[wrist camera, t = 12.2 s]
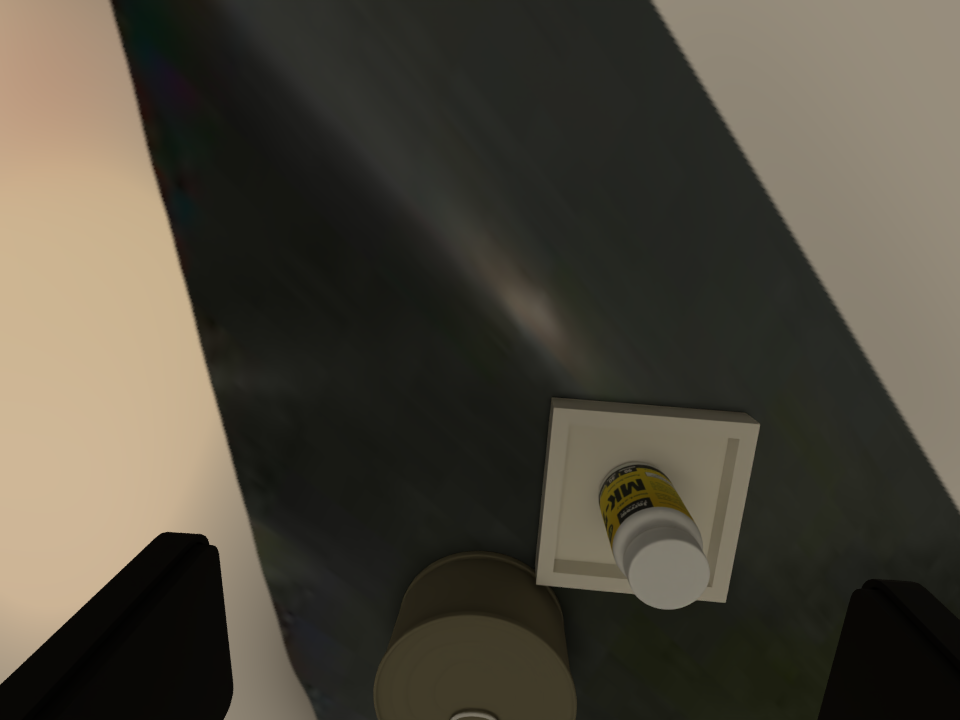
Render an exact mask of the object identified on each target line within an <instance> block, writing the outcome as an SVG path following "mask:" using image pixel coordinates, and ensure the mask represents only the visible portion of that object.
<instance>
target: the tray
mask: <svg viewBox="0 0 960 720" xmlns="http://www.w3.org/2000/svg"><path fill="white" fill-rule="evenodd" d="M759 428H760V424H759V423H758V422H757V421H755V420H754V419H753V418H752V417H750V416H749V415H748V414H747V413H744V412H731V411H719V410H706V409H694V408H681V407H668V406H656V405H643V404H631V403H618V402H606V401H593V400H580V399H568V398H555V397H551V408H550V418H549V428H548V438H547V448H546V458H545V468H544V479H543V489H542V499H541V509H540V519H539V529H538V539H537V550H536V560H535V575H536V585H545V586H556V587H566V588H577V589H587V590H598V591H608V592H619V593H629V594H634V592H633V591H632V589H631V587H630V584H629V582H628V579H627V577H626V576H625V575H624V574H623V573H622V572H621V570H620V569H619V567H618V566H617V564H616V562H615V559H614V556H613V553H612V550H611V546H610V542H609V539H608V535H607V532H606V528H605V525H604V521H603V518H602V514H601V510H600V507H599V501H598V496H599V490H600V487H601V484H602V482H603V481H604V479H605V478H606V476H607V475H608V474H609V473H610V472H611V471H612V470H614V469H615V468H617V467H619V466H621V465H624V464H627V463H634V462H639V463H646V464H650V465H652V466H654V467H656V468H658V469H660V470H661V471H662V472H663V473H664V474H665V475H666V476H667V477H668V478H669V480H670V481H671V483H672V485H673V486H674V488H675V490H676V491H677V493H678V495H679V496H680V498H681V500H682V501H683V503H684V505H685V506H686V508H687V510H688V512H689V513H690V515H691V517H692V518H693V520H694V522H695V523H696V525H697V527H698V529H699V531H700V533H701V537H702V541H703V553H704V554H705V556H706V558H707V560H708V563H709V567H710V578H709V582H708V585H707V587H706V589H705V591H704V592H703V594H702V595H701V596H700V597H699V598H698V599H697V600H702V601H713V602H723V603H726V598H727V592H728V587H729V582H730V577H731V572H732V567H733V562H734V556H735V551H736V546H737V541H738V536H739V531H740V526H741V521H742V515H743V510H744V505H745V500H746V495H747V490H748V485H749V479H750V474H751V469H752V464H753V459H754V454H755V449H756V443H757V438H758V433H759Z"/></svg>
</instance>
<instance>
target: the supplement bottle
mask: <svg viewBox="0 0 960 720" xmlns="http://www.w3.org/2000/svg"><path fill="white" fill-rule="evenodd" d="M598 501H599V507H600V510H601V514H602V518H603V521H604V525H605V528H606V532H607V535H608V539H609V542H610V546H611V550H612V553H613V556H614V559H615V562H616V564H617V566H618V567H619V569H620V570H621V572H622V573H623V574H624V575H625V576H626V577H627V579H628V582H629V584H630V587H631V589H632V591H633V592H634V594H635V595H636V596H637V597H638V598H639V599H640V600H641V601H643V602H644V603H646V604H647V605H650V606H652V607H655V608H659V609H677V608H681V607H684V606H687V605H689V604H691V603H692V602H694V601H695V600H697V599H698V598H699V597H700V596H701V595H702V594H703V592H704V591H705V589H706V587H707V585H708V582H709V578H710V567H709V563H708V560H707V558H706V556H705V554H704V553H703V541H702V537H701V533H700V531H699V529H698V527H697V525H696V523H695V522H694V520H693V518H692V517H691V515H690V513H689V512H688V510H687V508H686V506H685V505H684V503H683V501H682V500H681V498H680V496H679V495H678V493H677V491H676V490H675V488H674V486H673V485H672V483H671V481H670V480H669V478H668V477H667V476H666V475H665V474H664V473H663V472H662V471H661V470H660V469H658V468H656V467H654V466H652V465H650V464H646V463H639V462H634V463H627V464H624V465H621V466H619V467H617V468H615V469H614V470H612V471H611V472H610V473H609V474H608V475H607V476H606V478H605V479H604V481H603V482H602V484H601V487H600V490H599V496H598Z"/></svg>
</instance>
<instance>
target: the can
mask: <svg viewBox="0 0 960 720" xmlns="http://www.w3.org/2000/svg"><path fill="white" fill-rule="evenodd" d="M374 706H375V711H376V715H377V718H378V720H575V718H576V711H577V698H576V691H575V685H574V681H573V678H572V675H571V673H570V668H569V661H568V653H567V645H566V638H565V631H564V620H563V614H562V610H561V606H560V603H559V601H558V598H557V596H556V594H555V593H554V591H553V589H552V588H551V586H545V585H536V575H535V570H534V569H533V568H531V567H530V566H528V565H527V564H525V563H523V562H521V561H519V560H517V559H515V558H513V557H510V556H507V555H504V554H500V553H495V552H489V551H467V552H460V553H455V554H452V555H449V556H446V557H444V558H441V559H439V560H437V561H435V562H433V563H432V564H430V565H429V566H427V567H426V568H425V569H424V570H422V571H421V572H420V573H419V574H418V575H417V576H416V577H415V579H414V580H413V581H412V582H411V584H410V586H409V587H408V589H407V591H406V593H405V595H404V598H403V601H402V604H401V608H400V612H399V614H398V617H397V620H396V623H395V627H394V630H393V633H392V636H391V639H390V642H389V645H388V648H387V651H386V653H385V654H384V656H383V658H382V660H381V662H380V665H379V667H378V670H377V673H376V677H375V682H374Z"/></svg>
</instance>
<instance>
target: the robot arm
mask: <svg viewBox="0 0 960 720" xmlns="http://www.w3.org/2000/svg"><path fill="white" fill-rule="evenodd" d="M232 696H233V678H232V669H231V660H230V650H229V641H228V632H227V623H226V614H225V605H224V595H223V586H222V577H221V568H220V560H219V553H218V549H217V547H216V546H213V545H209V541H208V539H207V538H206V536H204V535H202V534H190V533H173V532H165V533H161V534H160V535H159V536H157V537H156V538H155V539H154V540H153V541H152V542H151V543H150V544H148V545H147V546H146V547H145V548H144V549H143V550H142V551H141V552H140V553H139V554H138V555H137V556H136V557H135V558H134V559H133V560H132V561H130V562H129V563H128V564H127V566H125V567H124V568H123V569H122V570H121V571H120V572H119V573H118V574H117V575H116V576H115V577H114V578H113V579H111V580H110V581H109V582H108V583H107V584H106V585H105V586H104V587H103V588H102V589H101V590H100V591H99V592H98V593H97V594H96V595H95V596H94V597H92V598H91V599H90V601H88V603H86V604H85V605H84V606H83V607H82V608H81V609H80V610H79V611H78V612H77V613H76V614H75V615H74V616H72V618H70V619H69V620H68V621H67V622H66V623H65V624H64V625H63V626H62V627H61V628H60V629H59V630H58V631H57V632H56V633H54V634H53V635H52V636H51V637H50V638H49V639H48V640H47V641H46V642H45V643H44V644H43V645H42V646H41V647H40V648H39V649H38V650H37V651H36V652H35V653H33V654H32V656H30V657H29V658H28V659H27V660H26V661H25V662H24V663H23V664H22V665H21V666H20V667H19V668H18V669H17V670H15V672H13V673H12V674H11V675H10V676H9V677H8V678H7V679H6V680H5V681H4V682H3V683H2V684H1V685H0V720H224V718H225V716H226V714H227V712H228V709H229V707H230V703H231V700H232ZM818 720H960V620H959V619H958V618H957V617H956V616H955V615H954V614H953V613H951V612H950V611H949V610H948V609H947V608H946V607H945V606H944V605H943V604H942V603H941V602H940V601H939V600H938V599H936V598H935V597H934V596H933V595H932V594H931V593H930V592H929V591H928V590H927V589H926V588H924V587H923V586H922V585H920V584H919V583H915V582H912V581H897V580H882V579H871V580H868V581H866V582H865V583H864V584H863V586H862V589H856V590H855V591H854V592H853V593H852V596H851V598H850V602H849V606H848V609H847V613H846V617H845V620H844V624H843V628H842V631H841V635H840V639H839V643H838V646H837V650H836V654H835V657H834V661H833V665H832V668H831V672H830V676H829V679H828V683H827V687H826V690H825V694H824V698H823V702H822V705H821V709H820V713H819V716H818Z"/></svg>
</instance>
